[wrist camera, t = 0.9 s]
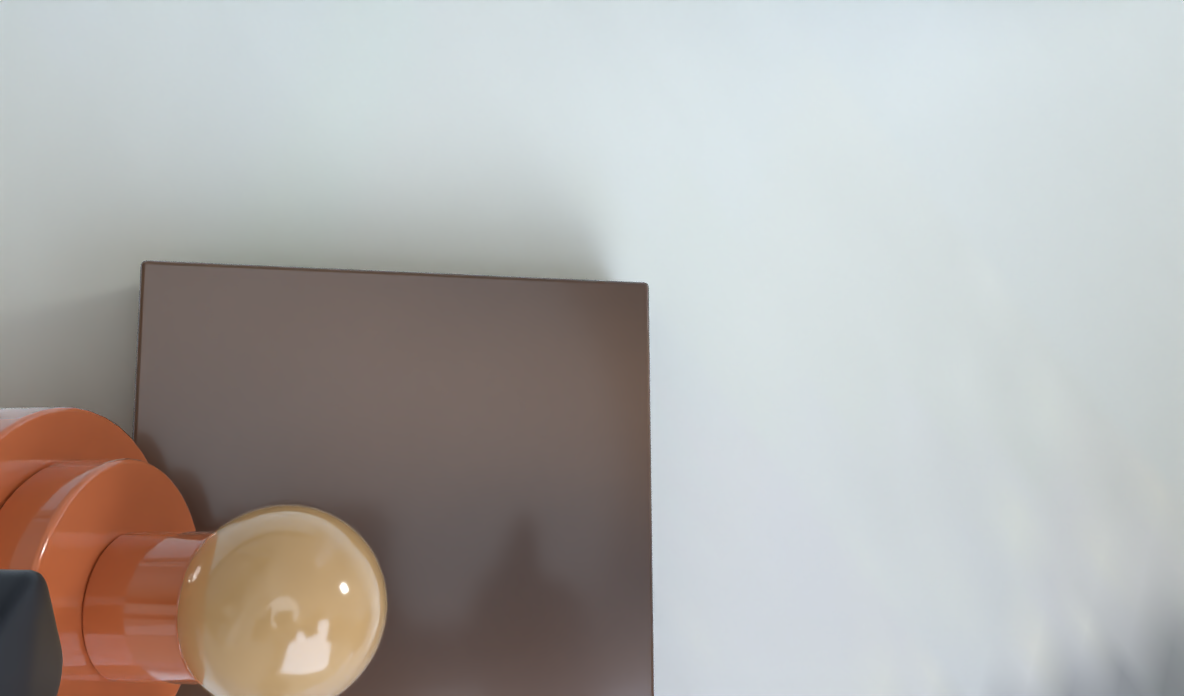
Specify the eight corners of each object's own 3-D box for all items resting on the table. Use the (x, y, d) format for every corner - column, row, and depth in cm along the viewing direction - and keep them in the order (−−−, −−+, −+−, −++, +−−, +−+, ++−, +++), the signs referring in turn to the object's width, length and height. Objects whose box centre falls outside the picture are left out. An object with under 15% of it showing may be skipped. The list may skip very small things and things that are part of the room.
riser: (626, 848, 23) (657, 882, 21) (127, 896, 21) (108, 939, 19) (622, 298, 25) (649, 281, 23) (154, 279, 22) (140, 259, 20)
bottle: (-291, 759, 19) (-697, 945, 11) (-259, 423, 20) (-618, 379, 12) (360, 720, 22) (392, 848, 14) (366, 427, 23) (399, 395, 15)
